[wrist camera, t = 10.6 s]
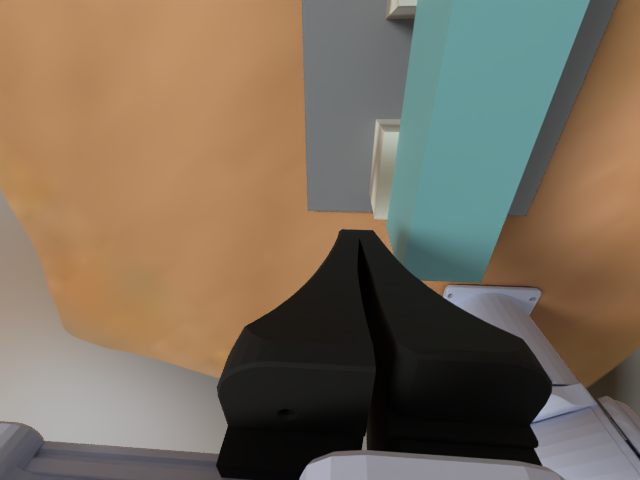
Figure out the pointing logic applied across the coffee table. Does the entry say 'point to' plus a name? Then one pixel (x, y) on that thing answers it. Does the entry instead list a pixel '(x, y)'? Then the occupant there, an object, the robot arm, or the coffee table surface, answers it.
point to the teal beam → (471, 125)
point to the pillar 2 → (401, 9)
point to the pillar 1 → (383, 165)
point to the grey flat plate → (396, 96)
